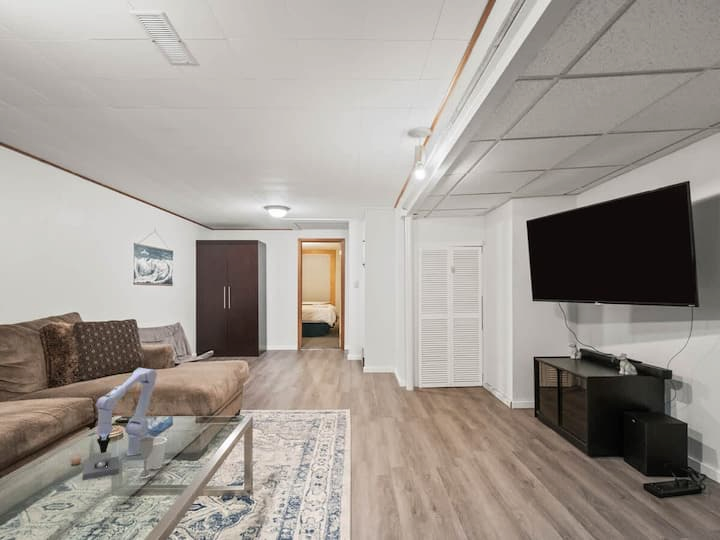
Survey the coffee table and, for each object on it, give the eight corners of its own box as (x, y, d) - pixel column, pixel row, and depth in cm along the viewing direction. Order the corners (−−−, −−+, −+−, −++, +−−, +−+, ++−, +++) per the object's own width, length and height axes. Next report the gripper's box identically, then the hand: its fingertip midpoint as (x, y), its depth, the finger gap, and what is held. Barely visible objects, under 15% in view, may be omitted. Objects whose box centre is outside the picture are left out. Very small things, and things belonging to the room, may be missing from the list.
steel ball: (105, 467, 200) (106, 459, 200) (105, 471, 196) (105, 463, 196) (96, 469, 198) (96, 461, 198) (95, 473, 194) (95, 464, 194)
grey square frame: (118, 461, 207) (118, 456, 207) (117, 473, 195) (118, 468, 195) (84, 466, 200) (85, 461, 200) (82, 479, 188) (82, 474, 188)
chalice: (156, 474, 195) (158, 437, 196) (144, 481, 189) (146, 442, 189) (144, 471, 198) (146, 434, 198) (132, 477, 191) (134, 439, 192)
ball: (81, 461, 205) (81, 453, 205) (80, 465, 201) (80, 456, 201) (71, 463, 203) (71, 455, 203) (70, 466, 199) (71, 458, 199)
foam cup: (156, 472, 197) (158, 445, 197) (140, 470, 199) (141, 443, 199) (169, 463, 207) (170, 438, 207) (153, 461, 208) (154, 435, 209)
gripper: (95, 417, 203) (94, 445, 203) (94, 428, 191) (93, 457, 191) (112, 415, 207) (111, 442, 207) (112, 425, 194) (110, 454, 194)
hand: (103, 449), depth 199 cm, fingers open, 7 cm apart
